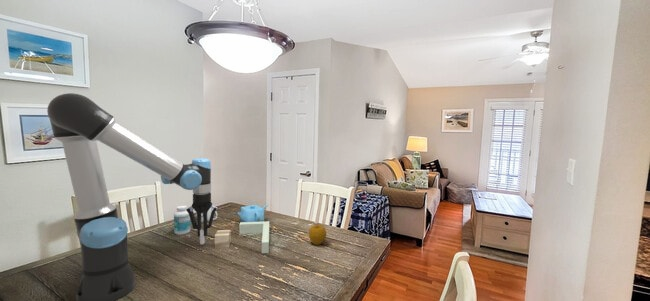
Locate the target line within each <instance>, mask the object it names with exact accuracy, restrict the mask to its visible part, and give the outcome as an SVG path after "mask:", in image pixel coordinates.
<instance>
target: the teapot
mask: <svg viewBox="0 0 650 301" xmlns="http://www.w3.org/2000/svg"><path fill="white" fill-rule="evenodd" d="M267 207H269V205H268V204H266V205H264V206H263V207H261V206H259V205H257V204H250V205H246V206H241V207H240V211H238V212H237V214H236V215H238V216H239V217H240V222H264V221H265V210H266V208H267Z"/></svg>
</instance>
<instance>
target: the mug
mask: <svg viewBox="0 0 650 301" xmlns="http://www.w3.org/2000/svg"><path fill="white" fill-rule="evenodd" d="M211 212H212V211H211V208H210V209H209V210H208V213H207V222H209V220H210V216H211ZM195 215H196V216H197V212H196V211H195ZM215 215H216V217H214V218H213V221H214V220H217V218H218V215H219V214H218V212H217V210H216V211H215ZM201 223H203V213H201Z"/></svg>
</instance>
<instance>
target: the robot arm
mask: <svg viewBox="0 0 650 301" xmlns="http://www.w3.org/2000/svg"><path fill="white" fill-rule="evenodd" d="M47 105H48V106H47V110H46V112H47V117H48V118H49V122H50V126H51V130H52V135H53V138H54V139H55V140H57V141H59V142H60V143H62V144H61V145H62V147H63V148H62V149H63V151H64V152H63V153H64V157H65V160H66V165H67V169H68V173H69V177H70V181H71V186H72V190H73V194H74V198H75V202H76V206H77V212H75V214H74V216H73V220H74V224H75V226H76V227H75V228H76V235H77V238H78V240H79V245H80V246H79V247H80V252H81V269H82V274H81V275H82V276H81V279H80V281H79V283H78V288H77V290H76V293H75V301H116V300H119V299H121V298H122V297H124V296H126V295H128V294H129V293H130V292H132V290H134V289H135V287H136V276H135V274H134V272H133V270H132V268H131V267H130V264H129V248H128V246H129V245H128V244H129V243H128V231H129V229H128V226H127V222H126V221H125V220H124V219H123V218H121V217H119V214H118V209H117V206H116V204H115V205H114V204H112V203H111V202H110V198H109V193H108V189H107V184H106V183H107V182H106V180H105V176H104V170H103V165H102V162H101V157H100V152H99V147H98V143H97V142H100V143H101V144H103V145H105V146H107V147H109V148H111V149H113V150H115V151H116V152H118V153H120V154H122V155H124V157H127V158H128V159H131V161H132V160H133V161H134V162H135V163H138V164H139V165H141V166H143V167H145V168H147V169H149V170H150V171H152V172H155V174H158V175H159V176H160V179H161V180H160V181H161V182H162V184H164V185H172V184H174V185H177V186H179V187H180V188H182V189H183V190H187V191H192V204H191V206H189V207H187V210H186V211H187V212H188V213H189V216H190V224H191V225H192V229H194V230H197V237H199V244H200V245H204V244H205V243H206V237H207V235H208V229H211V227H212V225H213V221H214V220H213V218H215V215H216V213H215V211H216V212H217V210H218V206H215V205H213V203H212V181H211V180H212V178H211V176H212V174H211V173H212V165H211V159H209V158H204V157H203V158H202V157H201V158H193V159H192V160H191V161H192V162H191V163H189V164H188V163H187V164H184V163H182V162H181V161H180V160H178V159H176V158H174V157H173V156H171V155H169V153H166V152H165V151H163V150H161V149H160V148H158V147H157V146H155V145H154V144H152V143H150V142H149V141H147V140H145V139H144V138H143V137H141V136H139V135H137V134H136V133H134V132H133V131H131V130H129V129H128V128H126V127H125V126H123V125H122V124H120V123H118V122H117V121H116V118H115V116H113V115H111V113H109V112H107V111H105V110H104V109H103V108H102V107H100V106H99V105H98V104H97V103H95V101H94V100H92V99H90V98H89V97H87V96H85V95H82V94H79V93H72V92H71V93H63V94H59V95H57V96H55V97H54V98H52V99H51V100H50V102H49V103H48V104H47ZM210 208H211V211H212V212H211V216H210V220H209V221H207V213H208V210H209V209H210ZM194 211H195V213H196V212H197V215H196V216H195V213H194ZM201 213H203V222H201ZM202 223H203V224H202ZM202 225H203V226H202Z"/></svg>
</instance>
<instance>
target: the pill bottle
mask: <svg viewBox="0 0 650 301" xmlns="http://www.w3.org/2000/svg"><path fill="white" fill-rule="evenodd" d="M187 209H188V206H187V205H178V206H176V211H175V212H174V213H173V230H174V235H175V234H176V235H181V236H182V235H185V234H188V233H190V232H191V219H190V216H189V213H188V212H187V211H186V210H187Z"/></svg>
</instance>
